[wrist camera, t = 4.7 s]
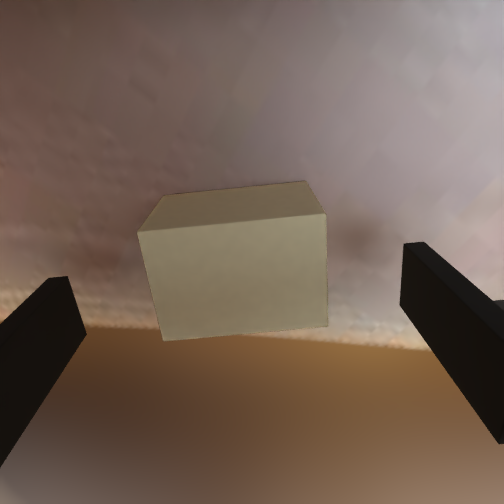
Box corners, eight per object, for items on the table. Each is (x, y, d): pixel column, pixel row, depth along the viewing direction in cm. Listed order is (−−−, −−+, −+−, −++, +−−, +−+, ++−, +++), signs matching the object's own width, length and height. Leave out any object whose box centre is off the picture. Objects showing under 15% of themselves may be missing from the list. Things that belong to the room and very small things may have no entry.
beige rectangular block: (181, 284, 20) (162, 342, 16) (163, 195, 18) (135, 231, 14) (309, 272, 20) (328, 327, 16) (306, 180, 18) (326, 213, 14)
